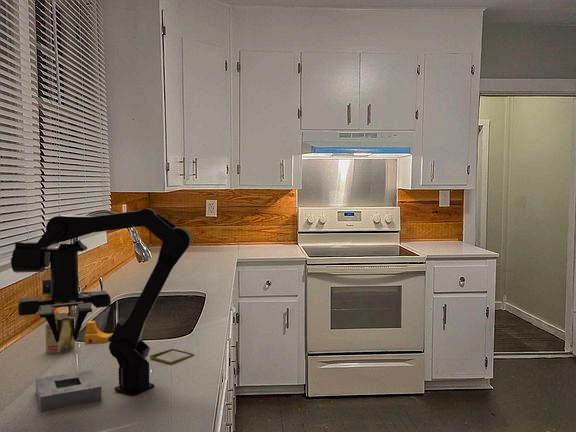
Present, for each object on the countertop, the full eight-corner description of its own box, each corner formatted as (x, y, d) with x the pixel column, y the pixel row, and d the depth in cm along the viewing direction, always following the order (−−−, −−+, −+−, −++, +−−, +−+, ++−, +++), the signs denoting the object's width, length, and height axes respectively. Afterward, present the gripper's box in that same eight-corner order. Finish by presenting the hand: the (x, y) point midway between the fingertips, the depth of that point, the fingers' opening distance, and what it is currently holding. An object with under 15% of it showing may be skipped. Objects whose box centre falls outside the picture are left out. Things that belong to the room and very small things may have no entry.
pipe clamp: (85, 346, 154) (84, 324, 154) (89, 342, 159) (88, 320, 158) (126, 345, 156) (126, 323, 155) (129, 341, 160) (129, 320, 160)
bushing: (78, 348, 118) (77, 317, 118) (64, 352, 115) (63, 321, 115) (68, 346, 120) (67, 315, 120) (54, 350, 117) (53, 319, 117)
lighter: (44, 354, 146) (43, 318, 146) (48, 350, 150) (47, 315, 149) (71, 353, 147) (70, 317, 147) (74, 349, 151) (73, 314, 150)
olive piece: (173, 355, 147) (173, 348, 147) (195, 361, 142) (195, 353, 142) (148, 363, 140) (148, 355, 140) (170, 370, 135) (170, 362, 134)
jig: (101, 400, 114) (101, 386, 114) (40, 411, 108) (40, 397, 108) (91, 382, 124) (91, 370, 124) (35, 392, 118) (35, 379, 118)
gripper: (102, 264, 128) (104, 327, 129) (17, 270, 120) (19, 337, 120) (110, 270, 119) (111, 338, 119) (17, 276, 110) (19, 350, 111)
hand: (66, 340), depth 118 cm, fingers closed on bushing, 3 cm apart
